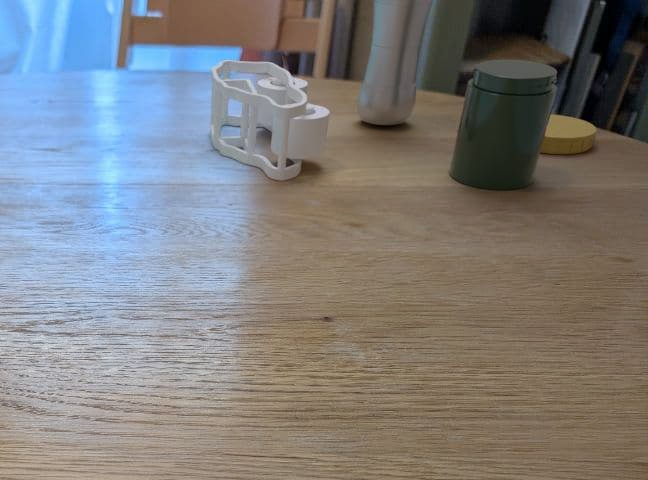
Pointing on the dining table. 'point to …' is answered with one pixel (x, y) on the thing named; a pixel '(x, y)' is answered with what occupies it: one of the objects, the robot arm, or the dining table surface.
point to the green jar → (503, 124)
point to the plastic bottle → (393, 61)
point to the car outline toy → (267, 117)
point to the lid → (568, 135)
